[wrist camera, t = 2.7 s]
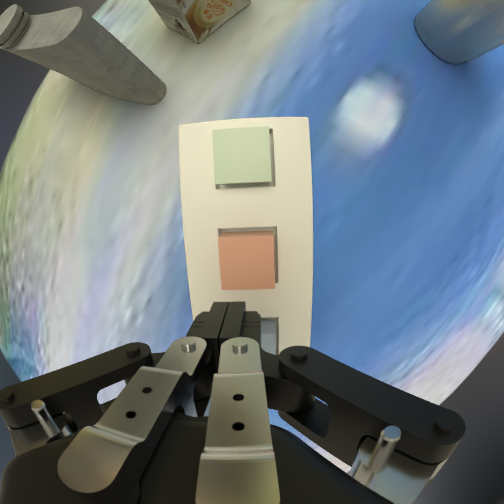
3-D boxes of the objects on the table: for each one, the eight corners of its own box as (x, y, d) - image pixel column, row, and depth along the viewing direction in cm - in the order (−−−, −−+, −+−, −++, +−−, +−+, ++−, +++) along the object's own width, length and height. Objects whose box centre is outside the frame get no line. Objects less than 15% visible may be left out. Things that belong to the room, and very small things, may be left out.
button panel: (302, 126, 27) (308, 117, 23) (304, 348, 32) (308, 367, 28) (189, 132, 27) (178, 125, 23) (207, 350, 33) (200, 368, 29)
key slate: (274, 319, 27) (275, 333, 25) (274, 357, 28) (275, 372, 26) (229, 320, 28) (225, 334, 25) (232, 357, 29) (229, 372, 26)
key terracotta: (272, 230, 25) (273, 235, 23) (273, 278, 26) (274, 288, 24) (222, 232, 26) (217, 237, 23) (225, 279, 27) (221, 290, 24)
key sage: (268, 133, 23) (269, 126, 21) (270, 182, 24) (271, 181, 22) (218, 136, 24) (212, 129, 21) (220, 184, 25) (214, 184, 22)
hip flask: (171, 84, 26) (70, -11, 7) (153, 114, 27) (30, 47, 7) (83, 58, 25) (-14, 7, 6) (69, 83, 26) (-36, 44, 6)
